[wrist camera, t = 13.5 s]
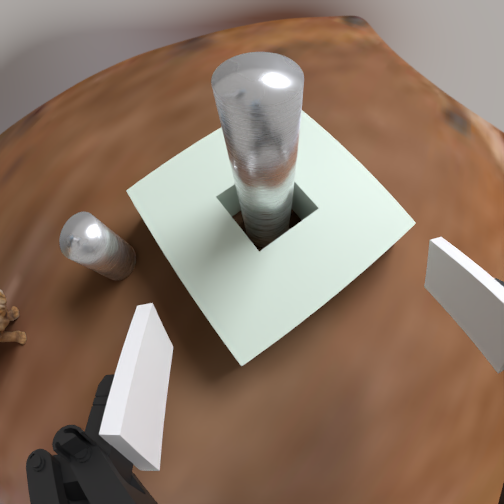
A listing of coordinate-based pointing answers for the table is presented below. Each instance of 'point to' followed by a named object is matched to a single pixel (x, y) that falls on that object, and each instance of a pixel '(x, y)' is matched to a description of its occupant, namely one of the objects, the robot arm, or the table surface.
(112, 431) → the robot arm
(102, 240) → the short peg
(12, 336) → the lion figurine
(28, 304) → the table surface
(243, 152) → the tall peg
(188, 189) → the socket block
